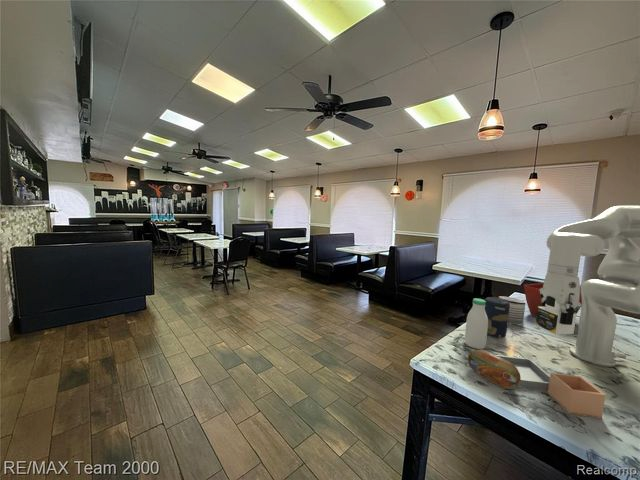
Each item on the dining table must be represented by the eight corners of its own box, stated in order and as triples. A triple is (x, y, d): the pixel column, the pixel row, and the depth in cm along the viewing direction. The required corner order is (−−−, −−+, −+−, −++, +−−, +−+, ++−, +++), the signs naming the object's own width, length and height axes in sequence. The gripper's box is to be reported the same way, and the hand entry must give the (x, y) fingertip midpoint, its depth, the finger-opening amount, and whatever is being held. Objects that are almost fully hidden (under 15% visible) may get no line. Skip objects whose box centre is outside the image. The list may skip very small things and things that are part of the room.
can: (492, 317, 135) (494, 296, 134) (504, 314, 140) (506, 293, 139) (515, 326, 125) (518, 303, 124) (527, 322, 130) (530, 300, 128)
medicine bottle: (534, 325, 90) (539, 293, 89) (552, 324, 90) (557, 293, 89) (554, 334, 83) (559, 300, 81) (574, 334, 83) (579, 300, 82)
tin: (466, 368, 89) (468, 346, 88) (470, 365, 90) (473, 344, 90) (516, 395, 76) (519, 369, 75) (520, 391, 78) (523, 366, 77)
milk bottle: (488, 350, 101) (494, 304, 99) (468, 348, 102) (473, 302, 100) (480, 341, 108) (485, 297, 106) (461, 339, 110) (465, 295, 108)
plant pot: (519, 312, 143) (523, 284, 142) (541, 309, 149) (545, 282, 147) (559, 327, 125) (564, 295, 123) (583, 323, 131) (587, 292, 129)
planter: (577, 397, 76) (580, 376, 75) (601, 418, 68) (605, 395, 67) (547, 393, 77) (550, 372, 76) (568, 413, 69) (572, 390, 69)
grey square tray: (529, 365, 92) (530, 358, 92) (559, 392, 78) (560, 384, 78) (487, 360, 94) (488, 354, 94) (509, 385, 80) (510, 378, 80)
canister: (501, 332, 118) (505, 295, 116) (509, 341, 109) (514, 302, 107) (478, 328, 121) (482, 293, 119) (484, 337, 112) (488, 299, 110)
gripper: (599, 277, 75) (590, 331, 77) (555, 265, 92) (548, 310, 94) (571, 275, 76) (563, 328, 78) (532, 264, 93) (527, 308, 95)
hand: (555, 318), depth 86 cm, fingers closed on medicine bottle, 8 cm apart
